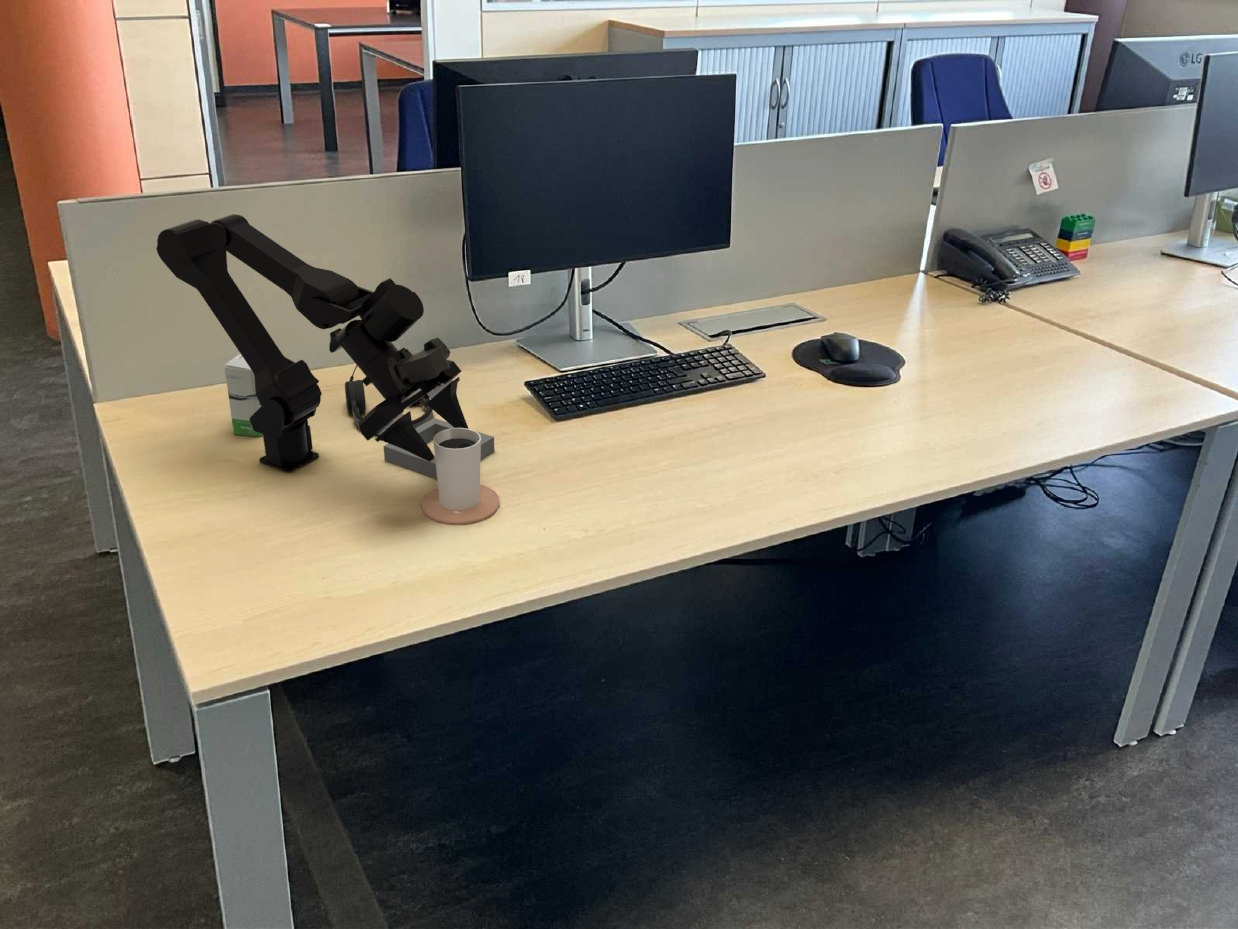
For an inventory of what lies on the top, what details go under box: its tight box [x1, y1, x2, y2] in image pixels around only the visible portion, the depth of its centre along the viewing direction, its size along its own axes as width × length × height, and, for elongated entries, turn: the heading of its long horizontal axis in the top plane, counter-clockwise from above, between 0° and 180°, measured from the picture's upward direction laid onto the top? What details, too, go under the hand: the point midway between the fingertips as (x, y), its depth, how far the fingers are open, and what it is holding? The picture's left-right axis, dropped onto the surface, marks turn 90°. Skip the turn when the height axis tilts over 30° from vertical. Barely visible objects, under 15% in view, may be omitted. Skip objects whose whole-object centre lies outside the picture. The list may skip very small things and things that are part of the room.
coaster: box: [421, 483, 500, 526], centre depth 156 cm, size 11×11×1 cm
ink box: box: [224, 353, 263, 437], centre depth 174 cm, size 9×5×12 cm, turn 168°
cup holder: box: [383, 417, 495, 480], centre depth 168 cm, size 12×12×2 cm
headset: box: [344, 365, 434, 437], centre depth 180 cm, size 13×9×19 cm
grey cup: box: [432, 428, 482, 511], centre depth 153 cm, size 7×7×10 cm
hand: (449, 445), depth 152 cm, fingers open, 9 cm apart
